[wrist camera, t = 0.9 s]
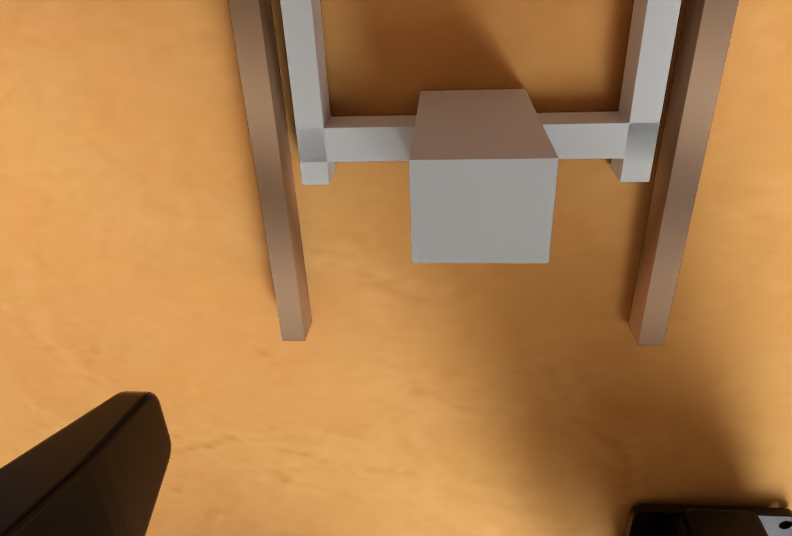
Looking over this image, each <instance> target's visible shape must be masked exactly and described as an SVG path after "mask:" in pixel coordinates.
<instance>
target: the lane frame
mask: <svg viewBox="0 0 792 536" xmlns="http://www.w3.org/2000/svg"><path fill="white" fill-rule="evenodd" d="M738 1H739V0H687V5H686V10H685V16H684V21H683V27H682V32H681V38H680V43H679V49H678V54H677V60H676V65H675V71H674V76H673V82H672V87H671V93H670V98H669V104H668V109H667V115H666V120H665V126H664V132H663V137H662V143H661V148H660V154H659V159H658V165H657V170H656V176H655V181H654V187H653V192H652V198H651V203H650V209H649V214H648V220H647V225H646V231H645V236H644V242H643V247H642V253H641V258H640V264H639V269H638V275H637V280H636V286H635V291H634V297H633V302H632V308H631V313H630V319H629V324H628V325H629V327H630V329H631V331H632V334H633V336H634V338H635V340H636V342H637V345H647V346H663V343H664V338H665V334H666V329H667V324H668V320H669V315H670V311H671V306H672V302H673V297H674V293H675V288H676V284H677V279H678V274H679V270H680V265H681V261H682V256H683V252H684V247H685V243H686V238H687V233H688V229H689V224H690V220H691V215H692V211H693V206H694V202H695V197H696V193H697V188H698V183H699V179H700V174H701V170H702V165H703V161H704V156H705V152H706V147H707V142H708V138H709V133H710V129H711V124H712V120H713V115H714V111H715V106H716V101H717V97H718V92H719V88H720V83H721V79H722V74H723V70H724V65H725V61H726V56H727V51H728V47H729V42H730V38H731V33H732V29H733V24H734V20H735V15H736V10H737V6H738ZM228 3H229V9H230V15H231V22H232V28H233V34H234V40H235V47H236V53H237V59H238V65H239V72H240V78H241V84H242V90H243V97H244V103H245V109H246V115H247V122H248V128H249V134H250V140H251V147H252V153H253V159H254V166H255V172H256V178H257V184H258V191H259V197H260V203H261V209H262V216H263V222H264V228H265V234H266V241H267V247H268V253H269V259H270V266H271V272H272V278H273V284H274V291H275V297H276V303H277V309H278V316H279V322H280V328H281V334H282V341H305V340H306V337H307V334H308V331H309V328H310V326H311V323H312V318H311V311H310V303H309V295H308V287H307V279H306V272H305V264H304V256H303V248H302V240H301V233H300V225H299V217H298V209H297V201H296V194H295V186H294V178H293V170H292V162H291V155H290V147H289V139H288V131H287V123H286V116H285V108H284V100H283V92H282V84H281V77H280V69H279V61H278V53H277V45H276V37H275V30H274V22H273V14H272V6H271V0H228Z"/></svg>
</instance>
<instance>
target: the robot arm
mask: <svg viewBox="0 0 792 536" xmlns="http://www.w3.org/2000/svg"><path fill="white" fill-rule="evenodd" d="M170 453H171V441H170V436H169V433H168V429H167V426H166V422H165V419H164V416H163V412H162V409H161V405H160V402H159V400H158V398H157V396H156V395H155V394H154V393H151V392H135V391H125V392H120V393H118V394H116V395H114V396H113V397H111V398H110V399H108V400H107V401H105V402H104V403H102V404H100V405H99V406H97V407H96V408H94V409H93V410H91V411H89V412H88V413H86V414H85V415H83V416H82V417H80V418H79V419H77V420H75V421H74V422H72V423H71V424H69V425H68V426H66V427H64V428H63V429H61V430H60V431H58V432H57V433H55V434H54V435H52V436H50V437H49V438H47V439H46V440H44V441H43V442H41V443H39V444H38V445H36V446H35V447H33V448H32V449H30V450H29V451H27V452H25V453H24V454H22V455H21V456H19V457H18V458H16V459H14V460H13V461H11V462H10V463H8V464H7V465H5V466H4V467H2V468H0V536H145V535H146V532H147V529H148V525H149V522H150V519H151V516H152V513H153V510H154V507H155V503H156V500H157V497H158V494H159V491H160V488H161V484H162V481H163V478H164V475H165V472H166V469H167V465H168V462H169V459H170ZM625 536H792V511H791V510H789V509H785V508H758V507H728V506H699V505H669V504H638V505H636V506H634V507H633V508H632V509H631V511H630V514H629V518H628V523H627V527H626V532H625Z"/></svg>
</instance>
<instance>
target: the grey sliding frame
mask: <svg viewBox="0 0 792 536" xmlns="http://www.w3.org/2000/svg"><path fill="white" fill-rule="evenodd" d="M280 3H281V11H282V19H283V27H284V36H285V44H286V52H287V60H288V69H289V77H290V85H291V93H292V102H293V110H294V118H295V127H296V135H297V143H298V151H299V160H300V168H301V176H302V184H303V185H329V184H330V182H331V179H332V177H333V175H334V173H335V171H336V169H335V162H372V161H409V176H410V211H411V246H412V263H549V253H550V243H551V232H552V222H553V212H554V202H555V191H556V181H557V171H558V161H559V159H612V160H611V167H610V168H611V169H612V171H613V172H614V174H615V175H616V176H617V178H618V179H619V181H620V182H649V181H650V175H651V169H652V164H653V158H654V152H655V147H656V141H657V136H658V130H659V124H660V119H661V113H662V107H663V102H664V96H665V90H666V85H667V79H668V73H669V68H670V62H671V56H672V51H673V45H674V40H675V34H676V28H677V23H678V17H679V11H680V6H681V0H634V5H633V12H632V19H631V26H630V33H629V40H628V47H627V54H626V61H625V68H624V75H623V83H622V90H621V97H620V104H619V111H610V112H555V113H537V112H536V110H535V108H534V106H533V104H532V102H531V100H530V98H529V96H528V94H527V92H526V90H525V89H488V90H442V91H420V96H419V102H418V108H417V114H416V115H391V116H336V117H331V115H330V104H329V93H328V82H327V71H326V60H325V49H324V38H323V27H322V16H321V5H320V0H280Z"/></svg>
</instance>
